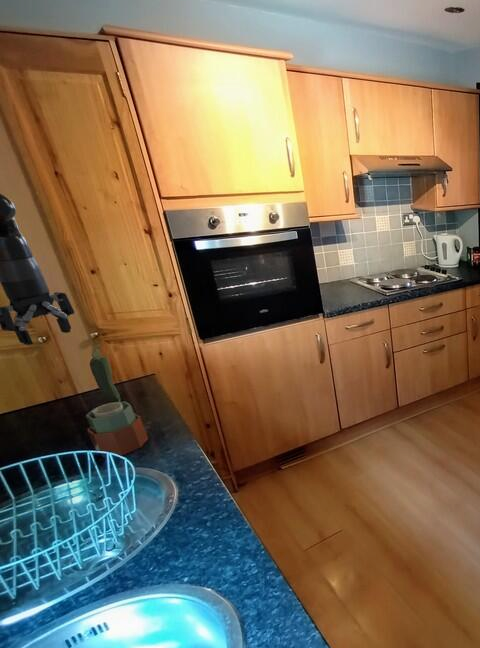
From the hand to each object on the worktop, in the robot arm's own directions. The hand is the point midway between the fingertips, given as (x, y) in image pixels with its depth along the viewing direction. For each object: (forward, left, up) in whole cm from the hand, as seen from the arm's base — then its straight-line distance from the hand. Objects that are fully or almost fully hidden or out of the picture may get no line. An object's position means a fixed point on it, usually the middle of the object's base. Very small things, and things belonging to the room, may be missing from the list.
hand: (47, 338), depth 116 cm
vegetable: (+10, +10, -28) cm, 31 cm away
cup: (+2, -18, -25) cm, 31 cm away
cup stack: (+2, -18, -28) cm, 33 cm away
